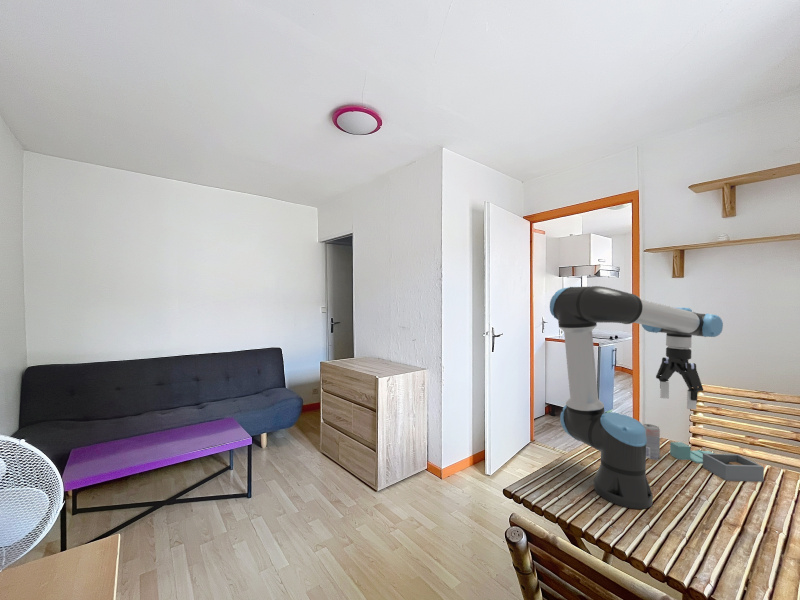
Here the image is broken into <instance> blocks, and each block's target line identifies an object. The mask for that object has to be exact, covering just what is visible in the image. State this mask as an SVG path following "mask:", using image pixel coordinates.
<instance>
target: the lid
mask: <svg viewBox="0 0 800 600" xmlns="http://www.w3.org/2000/svg"><path fill="white" fill-rule="evenodd" d="M669 444H670V445H669V447H670V450H669V451H670V452H669V454H670V456H672V457H673V458H675V459H677V460H678V461H681V460H684V461H685V460H686V461H687V460H688V461H692V462H693V463H695V464H702V465H703V453H709V454H715V453H714V452H712V451H710V450H701V449H697V450H691V446H690V445H688V444H686V443H684V442H682V441H670V442H669Z"/></svg>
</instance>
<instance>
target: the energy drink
mask: <svg viewBox="0 0 800 600" xmlns="http://www.w3.org/2000/svg"><path fill="white" fill-rule="evenodd" d="M642 425H643V426H644V428H645V431H646V439H647V443H646V459H649V460H660V457H661V456H660V453H661V452H660V450H661V449H660V446H661V441H660V438H661V430H660V427H659V426H657V425H654V424H649V423H644V424H643V423H642Z"/></svg>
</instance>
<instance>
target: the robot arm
mask: <svg viewBox="0 0 800 600" xmlns="http://www.w3.org/2000/svg"><path fill="white" fill-rule="evenodd" d="M549 312H550V314H551V315H552V316H553V318H554V319H556V320H557V322H558V328H559V329H561V330H562V332H563V335H564V345H565V357H566V367H567V368H566V369H567V376H568V378H567V379H568V387H569V388H568V389H569V398H568V400H566V401H565V405H564V406H563V407H562V411H561V412H560V415H559V417H560V418H559V419H560V425H561V427H562V429H563V431H564V432H565V433H566V434H567V435H569V436H570V437H572V438H573V439H574V440H576V441H579V442H582V443H584V444H585V445H587V446H589V447H591V448H593V449H596V450H597V451H599V453H600V464H599V467H598V469H597V471H596V475H595V477H594V479H593V489H594V491H595V492H596V493H597V494H598V495H599V496H600V497H602V498H603V499H604V500H606V501H608V502H610V503H612V504H614V505H618V506H621V507H623V508H629V509H634V510H635V509H636V510H642V509H648V508H651V507H652V505H653V501H654V499H653V497H654V496H653V492H652V489H651V487H650V484H649V481H648V477H647V475H646V474H647V473H646V468H647V466H646V462H647V461H646V460H647V458H646V443H647V439H646V431H645V428H644V426H643V423H641V422H640V421H639V420H638V419H636V418H633V417H631V416H629V415H626V414H620V412H613V411H611V412H610V411H609V412H608V411H607V412H605V404H604V402H602V401H601V400H600V399H599V393H598V382H597V373H596V372H597V370H596V362H595V350H594V338H593V331H594V329H595V328H596V327H597V324H598V323H599V324H601V323H611V324H612V323H617V324H624V325H631V324H633V323H635V324H637V325H638V324H639V325H641V327H642V328H643V329H644V330H645V331H646V332H647V333H653V334H654V333H655V334H657V333H658V334H659V333H662V334H663V333H664V334H666V335H665V336H666V337H665V338H666V339H665V341H666V342H665V345H666V348H665V356H666V357H662V358H661V364H660V366H659V368H658V371H657V373H656V374H655V378H656V379H658V380H659V389H660V394H659V395H660V397H659V398H660V399H669V397H670V381H669V380H670V378H671V377H672V375H673V374H674V373H675V372H676V373H678V374H679V375H681V376H682V379H683V381H684V383H685V385H686V386H687V389H688V390H687V389H686V393H687V395H686V409H687V410H697V402H698V395H699V394H698V393H699V392H703V391H704V388H703V385H702V382H701V379H700V376H699V373H698V370H697V364H696V363H694V362H693V363H691V362H689V360H691V359H692V349H691V348H692V337H693V336H694V337H695V336H696V337H704V338H708V337H709V338H716V337H718V336H720V335H721V333H722V331H723V328H724V323H723V322H724V321H723V320H722V318H721V317H720V316H719V315H717V314H710V313H698V312H695V311H693V310H692V309H691V308H690V307H675V306H670V305H666V304H665V305H664V304H661V303H657V302H653V301H648V300H645V299H642V298H640V297H639V296H638V295H636V294H634V293H629V292H626V291H622V290H618V289H614V288H612V287H605V286H600V285H599V286H597V285H594V286H593V285H592V286H569V287H563V288H560V289H558V290H557V291H556V292H555V293H554V294H553V295H552V297H551V299H550V301H549Z"/></svg>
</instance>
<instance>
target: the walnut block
mask: <svg viewBox="0 0 800 600" xmlns="http://www.w3.org/2000/svg"><path fill="white" fill-rule="evenodd" d="M728 465H742V464H740V463H737V462H729V463H728Z"/></svg>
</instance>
